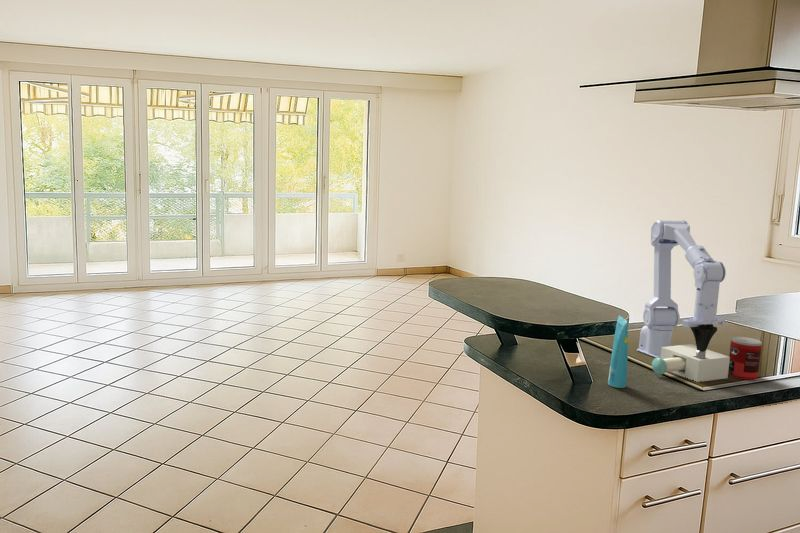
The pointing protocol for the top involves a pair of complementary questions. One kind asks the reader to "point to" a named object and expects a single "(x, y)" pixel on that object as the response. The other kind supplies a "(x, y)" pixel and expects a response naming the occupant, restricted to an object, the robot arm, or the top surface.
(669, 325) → the robot arm
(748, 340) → the canned food
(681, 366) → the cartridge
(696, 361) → the housing
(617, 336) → the tube
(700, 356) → the plunger
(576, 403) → the top surface
